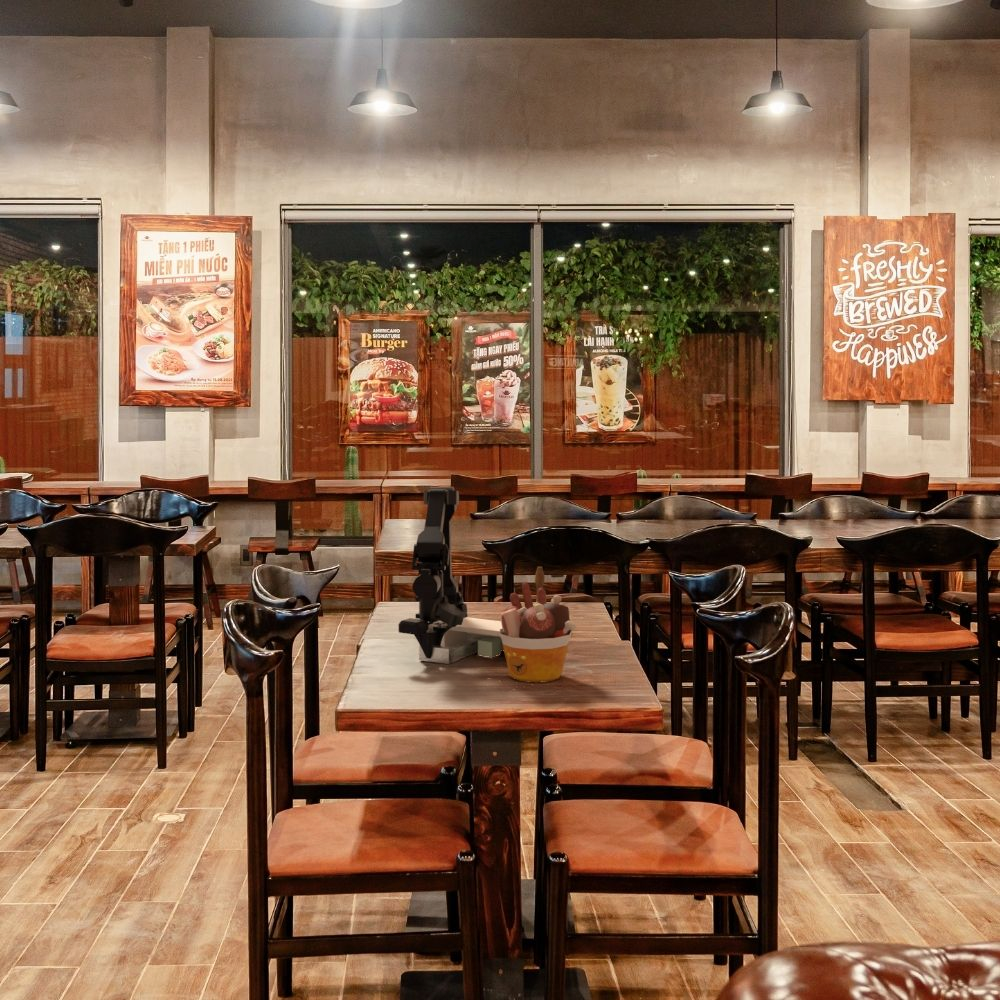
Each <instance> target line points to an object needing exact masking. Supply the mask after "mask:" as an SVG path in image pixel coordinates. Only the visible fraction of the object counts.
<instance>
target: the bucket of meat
mask: <svg viewBox="0 0 1000 1000" xmlns="http://www.w3.org/2000/svg"><path fill="white" fill-rule="evenodd" d="M520 587H521V592H522V598H523V603H524V606H522V603H521V600H520V597H519V595H518V593H515V592H512V593H510V595H509V601H510V603H511V605H509V606H508V607H506V608H505V609H504V610H503V612H500V621H501V624H502V629H500V635H501V639H502V643H503V648H504V651H503V652H504V656H505V660H506V666H507V669H508V674H509V675H510V677H511V678H512V679H513V678H515V679H517V680H516V681H518V680H520V681H519V682H521V681H530V682H541V681H550V682H552V681H551V680H554V681H556V680H555V679H557V680H559V678H560V677H561V675H562V674H563V671H564V668H565V667H564V666H565V662H566V657H567V653H568V649H569V643H570V640H571V636H572V631H574V630H575V629H576V628H577V626H576V624H575V623H574V622H572V621H571V620H570V618H571V617H570V609H569V606H566V605H563V604H560V603H561V602H562V596H561V595H558V594H556V595H553V597H552V598H551V600H550V603H549V602H547V591H546V590H545V589H544V587H543V588H540V589H539V590H538V591H537V590H536V598H537V597H538V604H536V605H535V607H533V604H534V603H533V599H532V598H533V597H532V594H531V588H530V584H528V583H527V582H522V584H521V586H520ZM515 679H514V680H515ZM530 682H529V683H530Z"/></svg>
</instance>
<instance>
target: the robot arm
mask: <svg viewBox="0 0 1000 1000" xmlns="http://www.w3.org/2000/svg"><path fill="white" fill-rule="evenodd" d="M459 503H460V492H459V490H455V487H454V486H430V487H429V489H426V490H423V505H425V506H427V508H426V509H427V510H426V515H425V520H424V521H425V522H424V527H423V528H424V529H423V531H421V532H420V533H419V534H417V540H416V543H414V545H413V554H412V563H411V570H412V571H418V575H417V576H416V578H415V579H414V580H413V583H412V591H413V593H414V595H415V597H414V599H415V601H414V602H418V611H419V612H417V613H415V618H406V619H403V620H402V619H401V621H399V623H398V624H397V625H398V629H397V631H398V633H399V634H405V635H406V634H408V635H413V636H414V637H415V639H416V640H417V642H418V644H419V646H421V648H422V650H423V652H424V654H425V656H426V658H428V659H430V658H431V654H432V645H435V646H441V642H442V639H443V636H444V634H445V633H446V632H447V631H448V630H449V629H451V628H452V627H455V626H457V625H462V622H463V619H464V618H466V617H468V605H467V604H466V603H465V602H464V598H463V596H462V595H461V592H460V591H459V583H458V582H457V580H456V579H455V577H454V576H453V571H452V570H453V569H452V565H453V564H452V526H451V525H452V523H451V520H452V518H453V516H454V515H455V513H456V511H457V506H459ZM447 625H448V626H447Z"/></svg>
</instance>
